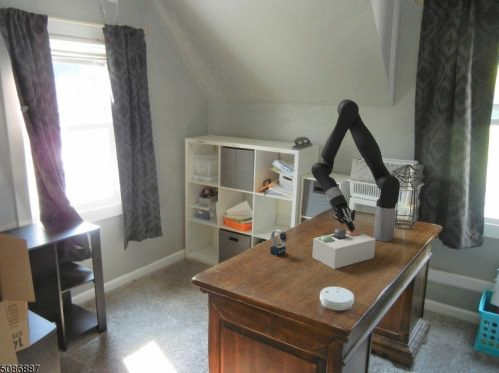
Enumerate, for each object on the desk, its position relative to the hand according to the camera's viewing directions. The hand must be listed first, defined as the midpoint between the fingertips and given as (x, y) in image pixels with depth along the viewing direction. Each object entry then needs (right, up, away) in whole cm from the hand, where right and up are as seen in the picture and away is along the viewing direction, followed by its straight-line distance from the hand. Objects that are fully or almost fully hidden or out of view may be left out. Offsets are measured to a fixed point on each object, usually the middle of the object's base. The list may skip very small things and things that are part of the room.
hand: (352, 230), depth 190 cm
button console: (-5, -12, -4) cm, 14 cm away
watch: (-34, -11, -1) cm, 36 cm away
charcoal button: (-7, -3, -4) cm, 8 cm away
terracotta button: (0, -4, +1) cm, 5 cm away
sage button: (-14, -6, -7) cm, 17 cm away
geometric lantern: (+38, -2, +41) cm, 56 cm away
